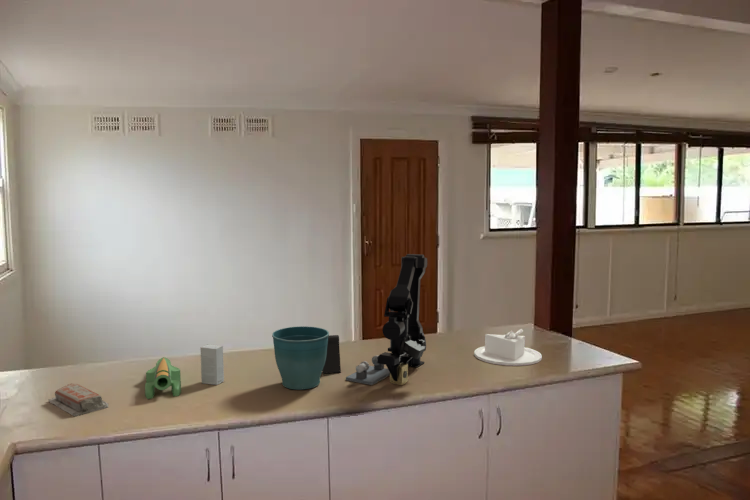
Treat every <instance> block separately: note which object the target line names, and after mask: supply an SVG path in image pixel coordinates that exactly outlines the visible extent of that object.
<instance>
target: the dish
mask: <svg viewBox="0 0 750 500" xmlns="http://www.w3.org/2000/svg"><path fill="white" fill-rule="evenodd" d="M523 332H524V330H523V328H520V329H518V330H517V331H516V332H514V331H513V330H510V331H508V332H507V333H505V334H492V333H490V334H489V333H485V334H484V346H479V347H478V348H476V349H474V352H473V353H474V354H473V355H474V357H475V358H476V359H478V360H480V361H482V362H485V363H488V364H492V365H501V366H511V367H513V366H514V367H516V366H517V367H520V366H521V367H522V366H531V365H534V364H538V363H540V362H541V361H542V354H541V352H539V351H538V350H535V349H532V348H530V347H525V346H526V345H525V343H526V342H525V341H526V336H525V335H520V334H522V333H523Z"/></svg>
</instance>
